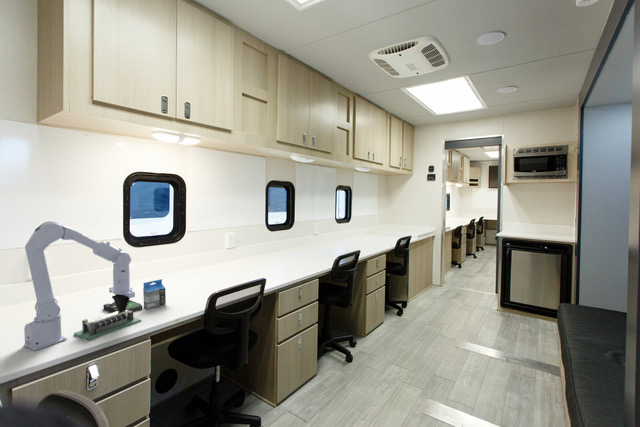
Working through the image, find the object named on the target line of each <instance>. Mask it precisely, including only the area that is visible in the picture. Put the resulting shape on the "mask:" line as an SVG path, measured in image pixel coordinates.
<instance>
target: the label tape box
mask: <svg viewBox="0 0 640 427" xmlns="http://www.w3.org/2000/svg"><path fill="white" fill-rule="evenodd" d="M162 282H163V279H162V278H161V279H156V280H151V281H146V282H143V290H142V291H143V292H142V293H143V308H144V309H145V308H146V310H151V309H153V308H156V307H160V306H164V305H166V304H167V301H166V287H165V286H164V284H163V283H162Z"/></svg>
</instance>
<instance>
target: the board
mask: <svg viewBox="0 0 640 427" xmlns="http://www.w3.org/2000/svg"><path fill="white" fill-rule="evenodd" d="M127 311H128V316H127V323H126V324H123V325H121V326H118V327H115V328H113V329H110V330H107V331H104V332H102V333H99V334H94V335H91V336H90V335H89V331H88V332H85V333H83V331H82V330H80V331H75V332H74V333H73V336H75V337H77V336H78V337H77V338H79V337H80V338H79V339H82V338H83V339H82V340H84V339H85V340H84V341H86V340H87V342H90V341H93V340H95V339H98V338H101V337H103V336H107V335H109V334H111V333H114V332H117V331H119V330H122V329H124V328H127V327H130V326H132V325H136V324H138V323H140V322H142V319H141V318H139V317H135V316H134V312H133V311H130V310H127Z"/></svg>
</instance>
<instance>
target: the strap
mask: <svg viewBox="0 0 640 427" xmlns="http://www.w3.org/2000/svg"><path fill="white" fill-rule="evenodd" d="M122 314H125V315H127V316H128V311H127V310H126V311H123V312H119V311H116V312H113V313H111V312H110V313H108V314H104V315H102V316H98V317H96V318H92V319H89V320H88V321H85V322H84V324H86V325H89V323H91V322H94V324H95V323H98V322H101V321H104V320H107V319H110V318H113V317H116V316H119V315H122Z"/></svg>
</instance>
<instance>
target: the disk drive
mask: <svg viewBox="0 0 640 427" xmlns="http://www.w3.org/2000/svg"><path fill="white" fill-rule="evenodd" d="M102 306H103V310H104V309H105V311H106V310H107V312H109V311H110V313H111V312H112V313H113V312H116V311H118V308H117V305H116V303H115V301H113V302H112V303H105V304H103V305H102ZM140 309H141V310H143V305H142V304H141V303H138V302H136V301H133V300H131V299H129V301H128V304H127V307H126V310H130V311H133V313H135V312H137V310H138V311H141V310H140ZM134 311H135V312H134Z"/></svg>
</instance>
